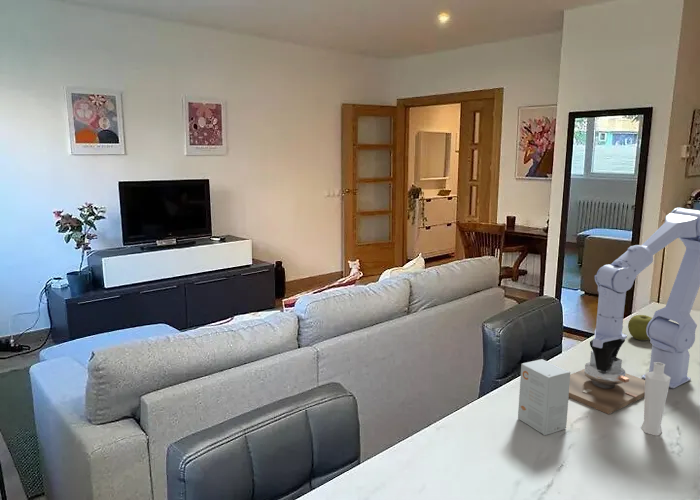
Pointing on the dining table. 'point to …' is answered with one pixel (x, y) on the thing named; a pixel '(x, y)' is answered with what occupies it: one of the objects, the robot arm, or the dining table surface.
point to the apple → (639, 327)
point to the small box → (544, 396)
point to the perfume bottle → (655, 398)
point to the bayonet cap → (611, 375)
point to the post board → (605, 392)
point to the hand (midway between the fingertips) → (604, 367)
